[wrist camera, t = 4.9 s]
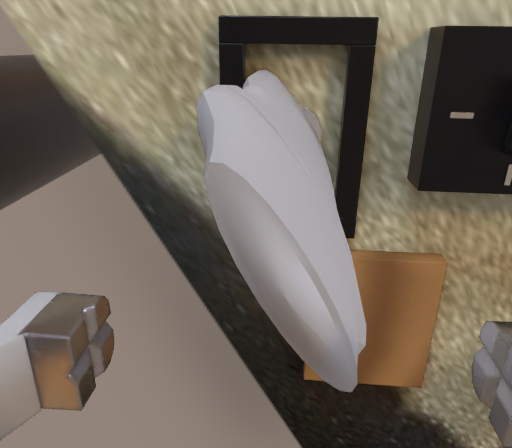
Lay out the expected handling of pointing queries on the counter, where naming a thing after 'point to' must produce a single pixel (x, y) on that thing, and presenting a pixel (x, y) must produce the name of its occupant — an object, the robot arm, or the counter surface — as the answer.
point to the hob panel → (464, 112)
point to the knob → (508, 139)
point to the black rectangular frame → (355, 91)
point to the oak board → (396, 315)
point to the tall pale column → (283, 220)
